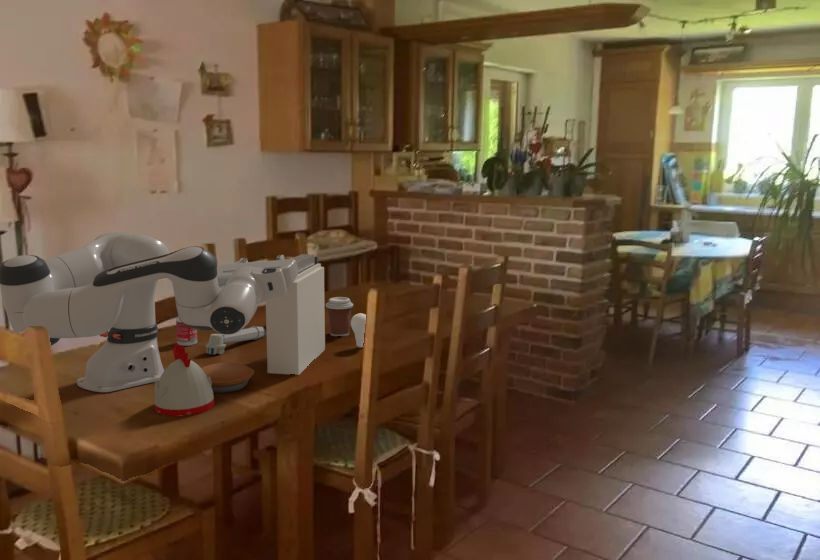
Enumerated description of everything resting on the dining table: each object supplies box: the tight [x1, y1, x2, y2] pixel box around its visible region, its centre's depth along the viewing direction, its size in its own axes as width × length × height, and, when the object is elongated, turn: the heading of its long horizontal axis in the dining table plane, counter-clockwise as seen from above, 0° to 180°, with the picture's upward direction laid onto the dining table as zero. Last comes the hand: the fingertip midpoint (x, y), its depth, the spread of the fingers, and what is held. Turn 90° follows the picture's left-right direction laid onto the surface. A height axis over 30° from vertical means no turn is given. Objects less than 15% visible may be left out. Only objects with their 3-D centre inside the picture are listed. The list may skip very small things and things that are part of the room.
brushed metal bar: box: [291, 253, 315, 274], centre depth 209 cm, size 28×4×4 cm, turn 170°
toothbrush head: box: [205, 325, 266, 355], centre depth 232 cm, size 5×7×25 cm
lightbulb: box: [350, 312, 367, 349], centre depth 231 cm, size 6×6×11 cm
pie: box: [201, 362, 255, 394], centre depth 194 cm, size 16×16×5 cm
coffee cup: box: [325, 296, 354, 337], centre depth 247 cm, size 9×9×12 cm
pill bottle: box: [175, 315, 198, 347], centre depth 233 cm, size 6×6×11 cm
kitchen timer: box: [153, 344, 215, 417], centre depth 178 cm, size 14×14×15 cm
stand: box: [265, 256, 326, 376], centre depth 215 cm, size 27×9×29 cm, turn 170°
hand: (263, 259), depth 183 cm, fingers open, 8 cm apart
